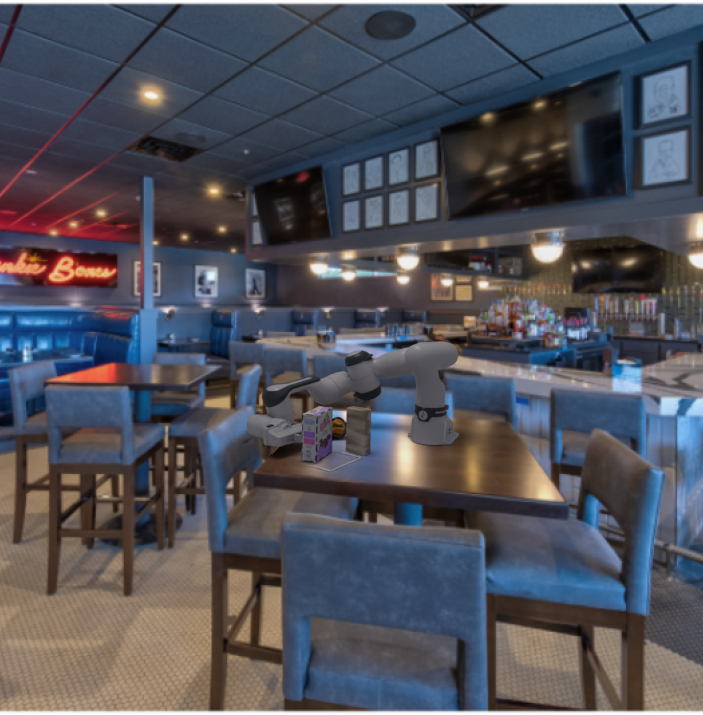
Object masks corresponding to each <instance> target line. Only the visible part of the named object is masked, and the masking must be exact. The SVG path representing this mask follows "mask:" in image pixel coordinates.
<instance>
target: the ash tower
mask: <svg viewBox="0 0 703 715" xmlns="http://www.w3.org/2000/svg"><path fill="white" fill-rule="evenodd" d="M345 415H346V418H345V419H346V420H345V422H346V435H345V452H346V453H350V454H354V455H358V456H359V455H360V456H362V457H363V456H364V457H365V456H367V455H369V454H371V442H372V441H371V439H372V427H371V426H372V409H371V408H366V407H361V406H360V407H359V406H356V405H353V406H349V407H346V414H345Z"/></svg>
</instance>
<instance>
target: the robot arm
mask: <svg viewBox="0 0 703 715" xmlns="http://www.w3.org/2000/svg"><path fill="white" fill-rule="evenodd" d="M373 357H374V354H373V353H370V352H368V351H367V350H364V349H362V350H359V349H358V350H353V351H351V352H350V353H349V354H348V355H346V356H345V358H344V364H345V367H346V370H347V371H344V370H342V371H338V372H334V373H332V374H329V375H326V376H325V377H322V378H320V377H319V376H316V375H310V376H304V377H300V378H296V379H295V380H294V379H293V380H290V381H286V382H283V383H277V384H271V385H269V386H267V387H266V388H265V389H264V391H263V393H262V395H261V399H262V402H263V405H264V406H265V410H266V414H251V415H249V417H248V418H247V421H246V431H247V432H248V433H249V434H250V435H251V436H253V437H255V438H258V439H261V440H263V445H264V446H271V447H276V448H277V447H284V446H287V445H289V444H293V443H295V442H302V422H301V423H300V422H299V423H296V424H295V415H294V411H293V409H292V404H291V403H292V402H291V400H290V399H291V398H290V396H291V394H295V393H297V392H298V393H299V392H301V391H304V390H306V391H307V392H308V393H309V396H311V398H312V399H313V400H314V401H315V402H316V403H318V404H320V405H324V406H326V405H330V404H333V403H335V402H337V401H339V400H340V399H341V398H343V397H345V396H346V395H347V394H350V393H353V392H354V393H353V395H352V396H353V397H354V398H357V399H359V400H361V401H364V402H366V401H373V400H375V399H377V398H379V396H380V395H381V393H382V386H381V384H380V381H379V378H383V379H392V378H400V377H405V376H411V375H413V376H414V380H415V385H416V387H415V389H416V391H415V392H416V393H415V394H416V395H415V396H416V397H415V399H416V400H415V404H414V415H413V416H412V417H411V423H410V424H411V425H410V432H409V433H408V434H407V437H408V438H410V441H412V442H414V443H417V444H422V445H426V446H440V445H442V446H445V445H446V446H447V445H448V446H451V445H452V444H453V443H454V442H455V441H456V440H457V439H458V438H459V437H460V434H459V432H456V431H454V421H453V420H452V419H451V418H450V417H449V416H448V415H447V414H448V412H447V411H449V408H450V405H449V404H446V385H445V383H444V382H442V381H441V379H440V375H439V370H446V369H447V368H450V367H452V366H453V365H455V364H456V363H457V361H458V359H459V352H458V349H457V347H456V345H455V344H453V343H451V342H448V341H443V340H441V341H426V342H424V341H423V342H418V343H415V344H412V345H410V346H409V347H404V348H401V349H395V350H391V351H388V352H386V353H383V354H381V355H379V356H377V357H375V358H373Z"/></svg>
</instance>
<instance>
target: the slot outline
mask: <svg viewBox="0 0 703 715" xmlns="http://www.w3.org/2000/svg"><path fill="white" fill-rule="evenodd" d="M340 453H341V454H343V455H347V456H349V457H355V458H356V459H354V460H351V461H348V462H345V463H344V464H341V465H340V466H337V467H334V468H333V469H329V468H325V467H321V466H317V465H313V464H308V466H309V467H312V468H315V469H318V470H322V471H325V472H329V473H331V472H333V471H335V470H338V469H340V468H342V467H345V466H347V465H349V464H352V463H354V462H356V461H359V460H361V459H363V458H364V457H363V456H361V455H360V456H359V455H357V454H353V453H349V452H343V451H342V452H340Z"/></svg>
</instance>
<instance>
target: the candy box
mask: <svg viewBox="0 0 703 715" xmlns="http://www.w3.org/2000/svg"><path fill="white" fill-rule="evenodd" d="M333 409H334V408H333V407H331V406H322V405H321V406H319V405H318V406H316V407H315V408H313V409H310V410H308V411H306V412H303V413H302V414H301V423H302V441H301V461H303V462H308V463H314V464H316V463H319V462H320V461H322V460H323V459H324V458H325V457H326V456H329V455H330V453H332V452H333V440H332V419H333V418H334V417H333V416H334V415H333V413H334V412H333Z"/></svg>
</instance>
